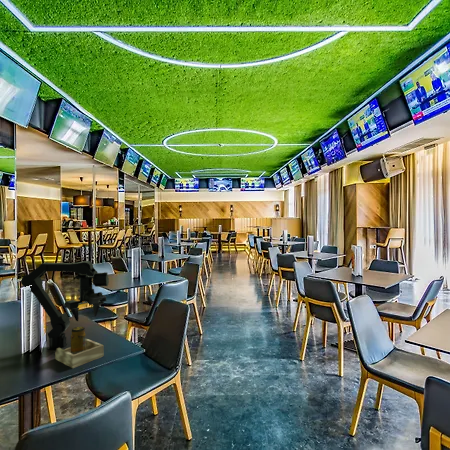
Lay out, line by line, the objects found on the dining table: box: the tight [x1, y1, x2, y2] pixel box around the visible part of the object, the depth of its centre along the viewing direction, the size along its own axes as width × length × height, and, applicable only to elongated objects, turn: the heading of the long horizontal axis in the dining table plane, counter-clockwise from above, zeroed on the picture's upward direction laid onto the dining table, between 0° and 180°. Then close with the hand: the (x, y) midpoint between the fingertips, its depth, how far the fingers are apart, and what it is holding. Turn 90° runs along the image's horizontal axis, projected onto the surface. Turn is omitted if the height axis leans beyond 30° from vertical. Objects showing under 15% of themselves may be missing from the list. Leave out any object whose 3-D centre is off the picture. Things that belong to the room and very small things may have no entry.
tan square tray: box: [54, 338, 105, 369], centre depth 136 cm, size 15×14×5 cm
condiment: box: [70, 326, 87, 354], centre depth 136 cm, size 7×8×12 cm
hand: (86, 318), depth 150 cm, fingers open, 9 cm apart
